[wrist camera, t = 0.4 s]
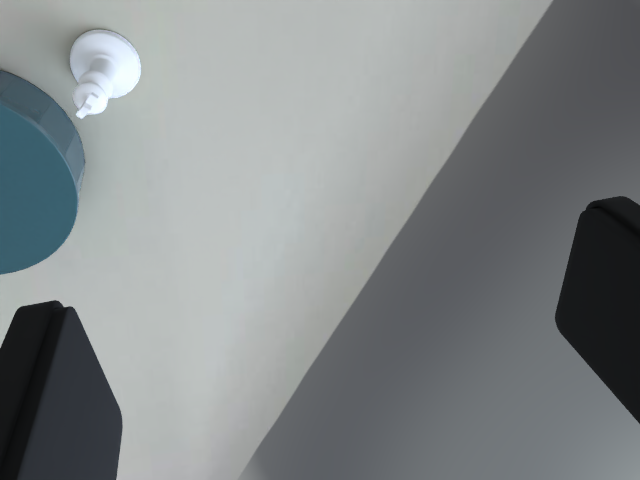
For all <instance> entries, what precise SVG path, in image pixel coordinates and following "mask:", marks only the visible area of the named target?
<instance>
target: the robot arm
mask: <svg viewBox="0 0 640 480" xmlns="http://www.w3.org/2000/svg"><path fill="white" fill-rule="evenodd" d="M555 321H556V325H557V327H558V330H559V331H560V333H561V334H562V335H563V336H564V337H565V339H567V341H568V342H569V343H570V344H571V345H572V347H573V348H574V349H575V350H576V351H577V352H578V353H579V355H580V356H581V357H582V358H583V359H584V360H585V361H586V363H587V364H588V365H589V366H590V367H591V368H592V370H593V371H594V372H595V373H596V374H597V375H598V376H599V378H600V379H601V380H602V381H603V382H604V383H605V384H606V386H607V387H608V388H609V389H610V390H611V391H612V392H613V394H614V395H615V396H616V397H617V398H618V399H619V401H620V402H621V403H622V404H623V405H624V406H625V407H626V409H627V410H629V412H630V413H631V414H632V415H633V417H634V418H635V419H636V420H637V421H638V422H639V423H640V205H638V204H637V203H635V202H634V201H632V200H631V199H629V198H627V197H623V196H619V197H613V198H608V199H602V200H597V201H593V202H591V203H590V204H589V205H588V206H587V208H586V210H585V211H583V212H582V213H581V214H580V217H579V220H578V224H577V228H576V232H575V236H574V240H573V244H572V248H571V252H570V257H569V261H568V265H567V269H566V273H565V277H564V281H563V285H562V290H561V293H560V297H559V302H558V305H557V310H556V314H555ZM121 436H122V416H121V411H120V408H119V406H118V404H117V401H116V399H115V397H114V395H113V393H112V390H111V388H110V386H109V384H108V381H107V379H106V377H105V375H104V372H103V370H102V368H101V366H100V364H99V361H98V359H97V357H96V355H95V352H94V350H93V348H92V346H91V344H90V341H89V339H88V337H87V335H86V332H85V330H84V328H83V326H82V323H81V321H80V319H79V317H78V315H77V312H76V311H75V309H74V308H73V307H63V305H62V304H61V303H60V302H59V301H56V300H55V301H49V302H44V303H38V304H33V305H28V306H22V307H20V308H18V309H17V311H16V313H15V315H14V317H13V320H12V322H11V324H10V327H9V329H8V332H7V334H6V336H5V339H4V341H3V343H2V346H1V348H0V480H116V477H117V468H118V460H119V452H120V444H121Z"/></svg>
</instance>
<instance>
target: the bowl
mask: <svg viewBox="0 0 640 480" xmlns="http://www.w3.org/2000/svg"><path fill="white" fill-rule="evenodd" d="M0 100H2V101H4V102H6V103H7V104H9V105H11V106H13V107H15V108H17V109H18V110H20V111H21V112H23V113H24V114H26V115H27V116H29V117H30V118H31V119H33V120H34V121H35V122H36V123H37V124H39V125H40V126H41V127H42V128H43V129H44V130H45V131H46V132H47V133H48V134H49V135H50V136H51V137H52V138H53V139H54V140H55V141H56V143H57V144H58V145H59V147H60V148H61V149H62V151H63V152H64V154H65V155H66V157H67V159H68V161H69V163H70V164H71V167H72V169H73V172H74V174H75V177H76V181H77V186H78V193H79V192H80V189H81V183H82V178H83V174H84V166H85V159H84V151H83V146H82V142H81V140H80V137H79V134H78V132H77V130H76V128H75V126H74V125H73V123H72V121H71V120H70V119H69V117H68V116H67V114H66V113H65V112H64V111H63V109H62V108H61V107H60V106H59V105H58V104H57V103H56V102H55V101H54V100H53V99H52V98H51V97H49V96H48V95H47V94H46V93H44V92H43V91H42V90H40V89H39V88H38V87H36V86H34V85H33V84H31V83H29V82H28V81H26V80H24V79H22V78H20V77H17V76H15V75H13V74H11V73H8V72H5V71H2V70H0Z"/></svg>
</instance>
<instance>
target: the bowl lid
mask: <svg viewBox="0 0 640 480" xmlns="http://www.w3.org/2000/svg"><path fill="white" fill-rule="evenodd" d="M78 205H79V193H78V186H77V181H76V177H75V174H74V172H73V169H72V167H71V164H70V163H69V161H68V159H67V157H66V155H65V154H64V152H63V151H62V149H61V148H60V147H59V145H58V144H57V143H56V141H55V140H54V139H53V138H52V137H51V136H50V135H49V134H48V133H47V132H46V131H45V130H44V129H43V128H42V127H41V126H40V125H39V124H37V123H36V122H35V121H34V120H33V119H31V118H30V117H29V116H27V115H26V114H24V113H23V112H21V111H20V110H18V109H17V108H15V107H13V106H11V105H9V104H7V103H6V102H4V101H2V100H0V274H6V273H12V272H16V271H19V270H23V269H26V268H28V267H31V266H33V265H35V264H37V263H39V262H41V261H43V260H44V259H46V258H48V257H49V256H50V255H51V254H53V253H54V252H55V251H57V249H58V248H59V247H60V246H61V245H62V244H63V243H64V242H65V240H66V239H67V237H68V236H69V234H70V232H71V230H72V228H73V226H74V223H75V220H76V217H77V213H78Z"/></svg>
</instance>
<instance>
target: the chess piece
mask: <svg viewBox="0 0 640 480" xmlns="http://www.w3.org/2000/svg"><path fill="white" fill-rule="evenodd" d="M70 67H71V70H72V73H73V75H74V77H75V79H76V80H77V82H78V86H77V87H76V88H75V89H74V91H73V102H74V104H75V105H76V107H77V108H78V109H79V110H78V111H77V113H76V116H78V117H79V118H81V119H83V118H84V116H85V115H87V114H91V115H94V114H99V113H101V112H102V111H103V110H104V109H105V108H106V106H107V100H108V99H109V98H117V97H121V96H123V95H125V94H127V93H129V92H130V91H131V90H132V89H133V88H134V87H135V86H136V84H137V82H138V80H139V78H140V74H141V63H140V59H139V56H138V54H137V52H136V50H135V49H134V47H133V46H132V45H131V43H130V42H129V41H127V40H126V39H125V38H124V37H122V36H121V35H119V34H117V33H115V32H112V31H108V30H92V31H88V32H86V33H84V34H82V35H81V36H80V37H78V38H77V40H76V41H75V42H74V44H73V46H72V48H71V52H70Z"/></svg>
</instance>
